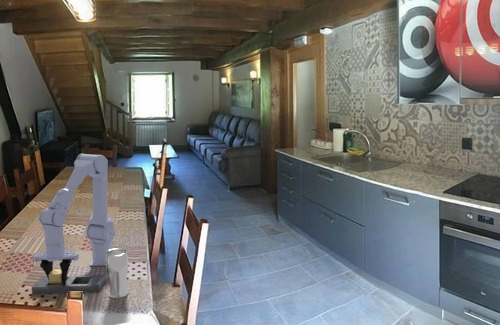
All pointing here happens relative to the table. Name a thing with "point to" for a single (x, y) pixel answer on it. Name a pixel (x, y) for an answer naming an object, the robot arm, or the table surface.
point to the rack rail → (70, 284)
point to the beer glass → (117, 272)
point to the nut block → (56, 277)
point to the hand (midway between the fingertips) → (57, 280)
